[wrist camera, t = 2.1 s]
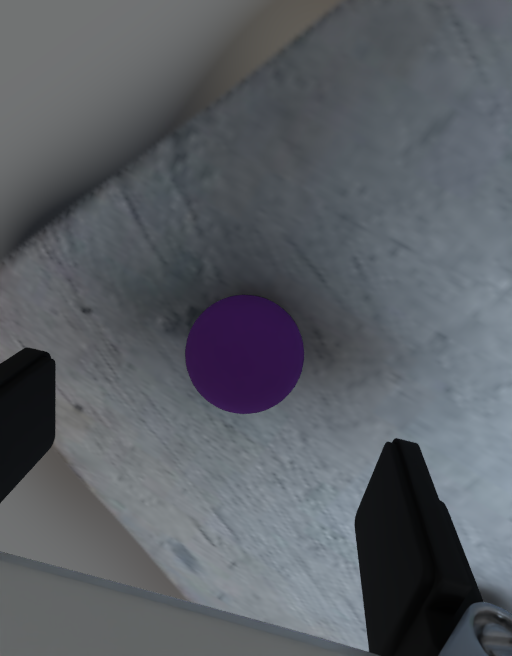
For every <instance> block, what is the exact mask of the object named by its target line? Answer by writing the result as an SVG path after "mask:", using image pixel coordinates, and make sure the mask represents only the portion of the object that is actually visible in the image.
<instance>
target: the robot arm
mask: <svg viewBox="0 0 512 656" xmlns="http://www.w3.org/2000/svg"><path fill="white" fill-rule="evenodd" d="M54 439H55V361H54V359H51V356H50V354H49V353H48V352H44V351H40V350H36V349H32V348H24V349H23V350H21V351H19V352H18V353H16V354H15V355H13V356H12V357H10V358H9V359H7V360H6V361H4V362H3V363H1V364H0V503H1V502H2V501H3V499H4V498H5V497H6V496H7V495H8V494H9V493H10V492H11V491H12V490H13V488H14V487H15V486H16V485H17V484H18V483H19V482H20V481H21V480H22V479H23V478H24V476H25V475H26V474H27V473H28V472H29V471H30V470H31V469H32V468H33V467H34V466H35V464H36V463H37V462H38V461H39V460H40V459H41V458H42V457H43V456H44V455H45V453H46V452H47V451H48V450H49V449H50V448H51V446H52V444H53V442H54ZM355 533H356V542H357V550H358V559H359V567H360V576H361V585H362V593H363V602H364V610H365V619H366V627H367V636H368V645H369V652H367V651H363V650H360V649H357V648H353V647H350V646H346V645H343V644H340V643H336V642H333V641H329V640H326V639H323V638H319V637H316V636H312V635H309V634H306V633H302V632H298V631H295V630H291V629H288V628H284V627H280V626H277V625H273V624H269V623H266V622H262V621H258V620H255V619H251V618H247V617H244V616H240V615H236V614H233V613H229V612H226V611H222V610H218V609H215V608H211V607H207V606H204V605H200V604H196V603H193V602H189V601H185V600H182V599H177V598H174V597H170V596H167V595H163V594H159V593H155V592H152V591H148V590H144V589H141V588H137V587H133V586H129V585H126V584H122V583H118V582H114V581H111V580H107V579H103V578H99V577H95V576H92V575H88V574H84V573H81V572H77V571H73V570H69V569H66V568H62V567H58V566H54V565H50V564H46V563H43V562H39V561H35V560H31V559H27V558H23V557H20V556H16V555H12V554H8V553H5V552H1V551H0V656H512V614H511V613H509V612H508V611H506V610H505V609H503V608H501V607H498V606H496V605H494V604H491V603H485V602H483V599H482V597H481V594H480V592H479V589H478V586H477V584H476V581H475V579H474V576H473V574H472V571H471V568H470V566H469V563H468V561H467V558H466V556H465V553H464V550H463V548H462V545H461V543H460V540H459V538H458V535H457V532H456V530H455V527H454V525H453V522H452V520H451V517H450V514H449V512H448V509H447V507H446V506H445V504H444V503H443V502H442V501H440V500H439V498H438V495H437V492H436V490H435V487H434V484H433V482H432V479H431V476H430V474H429V471H428V468H427V466H426V463H425V460H424V458H423V455H422V452H421V450H420V447H419V445H418V444H417V443H414V442H410V441H406V440H402V439H397V438H396V439H394V440H393V442H392V443H391V442H386V443H385V445H384V447H383V450H382V452H381V455H380V457H379V460H378V462H377V464H376V467H375V469H374V472H373V474H372V476H371V479H370V481H369V484H368V486H367V489H366V491H365V493H364V496H363V498H362V501H361V503H360V506H359V508H358V510H357V513H356V517H355Z"/></svg>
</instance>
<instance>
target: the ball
mask: <svg viewBox="0 0 512 656" xmlns="http://www.w3.org/2000/svg"><path fill="white" fill-rule="evenodd" d="M185 357H186V366H187V371H188V373H189V376H190V379H191V381H192V383H193V385H194V386H195V388H196V389H197V391H198V392H199V393H200V394H201V395H202V396H203V397H204V398H205V399H206V400H207V401H208V402H210V403H211V404H213V405H214V406H216V407H218V408H220V409H222V410H225V411H228V412H232V413H239V414H250V413H257V412H261V411H264V410H267V409H269V408H271V407H273V406H275V405H276V404H278V403H279V402H281V401H282V400H283V399H284V398H285V397H286V396H287V395H288V394H289V393H290V392H291V391H292V389H293V388H294V387H295V385H296V383H297V381H298V379H299V377H300V374H301V372H302V367H303V362H304V347H303V341H302V337H301V334H300V332H299V329H298V327H297V325H296V324H295V322H294V320H293V319H292V318H291V316H290V315H289V314H288V313H287V312H286V311H285V310H284V309H282V308H281V307H280V306H279V305H277V304H275V303H274V302H272V301H270V300H268V299H265V298H262V297H259V296H253V295H236V296H231V297H227V298H224V299H222V300H220V301H218V302H216V303H214V304H212V305H211V306H210V307H208V308H207V309H206V310H205V311H204V312H203V313H202V314H201V315H200V316H199V317H198V318H197V320H196V321H195V323H194V325H193V326H192V328H191V330H190V333H189V335H188V339H187V343H186V350H185Z"/></svg>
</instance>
